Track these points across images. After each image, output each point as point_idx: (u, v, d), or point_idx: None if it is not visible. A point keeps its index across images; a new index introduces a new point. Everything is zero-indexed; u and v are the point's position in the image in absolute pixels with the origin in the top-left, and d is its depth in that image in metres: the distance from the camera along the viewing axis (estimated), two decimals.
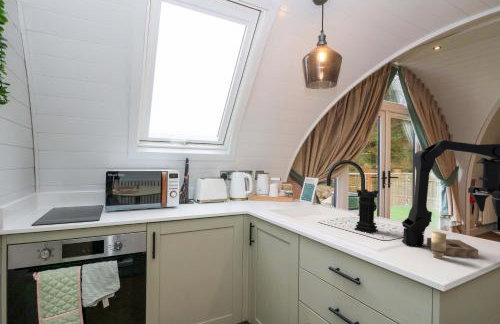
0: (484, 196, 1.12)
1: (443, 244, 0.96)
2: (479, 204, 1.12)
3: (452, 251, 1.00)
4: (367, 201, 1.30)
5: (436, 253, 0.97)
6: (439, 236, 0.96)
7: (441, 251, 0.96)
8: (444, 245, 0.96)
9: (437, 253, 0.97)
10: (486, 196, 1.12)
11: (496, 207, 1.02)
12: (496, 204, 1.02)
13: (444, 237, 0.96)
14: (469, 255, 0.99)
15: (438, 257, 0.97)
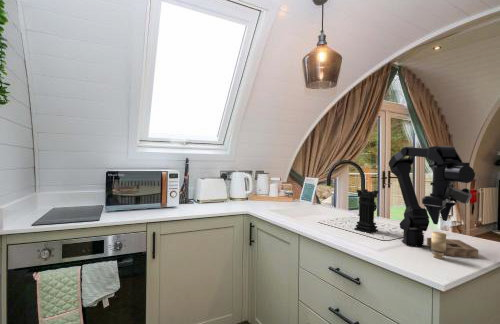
0: (449, 204, 1.00)
1: (443, 244, 0.96)
2: (441, 212, 1.02)
3: (452, 251, 1.00)
4: (367, 201, 1.30)
5: (436, 253, 0.97)
6: (439, 236, 0.96)
7: (441, 251, 0.96)
8: (444, 245, 0.96)
9: (437, 253, 0.97)
10: (451, 204, 1.00)
11: (429, 213, 0.96)
12: (428, 210, 0.96)
13: (444, 237, 0.96)
14: (469, 255, 0.99)
15: (438, 257, 0.97)
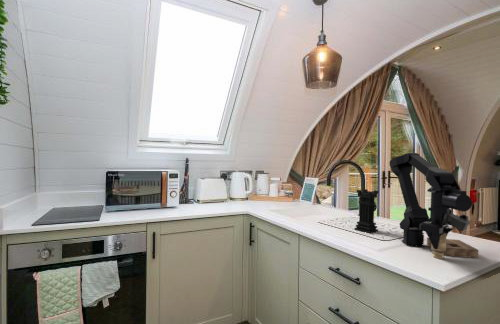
0: (445, 230, 0.99)
1: (443, 244, 0.96)
2: None
3: (452, 251, 1.00)
4: (367, 201, 1.30)
5: (436, 253, 0.97)
6: None
7: (441, 251, 0.96)
8: (444, 245, 0.96)
9: (437, 253, 0.97)
10: (447, 230, 0.98)
11: (429, 238, 0.97)
12: (428, 235, 0.97)
13: (444, 237, 0.96)
14: (469, 255, 0.99)
15: (438, 257, 0.97)
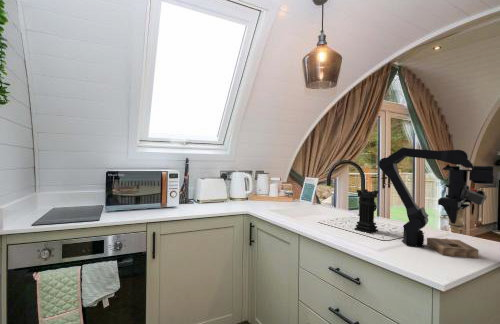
0: (462, 206, 1.04)
1: (460, 219, 1.01)
2: None
3: (452, 251, 1.00)
4: (367, 201, 1.30)
5: (454, 227, 1.02)
6: None
7: (459, 225, 1.01)
8: (462, 219, 1.01)
9: (455, 227, 1.02)
10: (464, 206, 1.03)
11: (447, 213, 1.02)
12: (446, 210, 1.02)
13: (462, 212, 1.01)
14: (469, 255, 0.99)
15: (456, 231, 1.02)
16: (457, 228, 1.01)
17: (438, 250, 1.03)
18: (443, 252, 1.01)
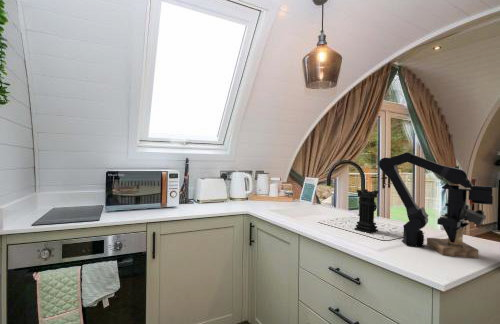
0: (461, 224, 1.04)
1: (460, 238, 1.01)
2: None
3: (452, 251, 1.00)
4: (367, 201, 1.30)
5: (453, 246, 1.02)
6: None
7: (458, 244, 1.01)
8: (461, 239, 1.01)
9: (454, 246, 1.02)
10: (463, 225, 1.03)
11: (446, 232, 1.02)
12: (445, 229, 1.02)
13: (461, 231, 1.01)
14: (469, 255, 0.99)
15: None
16: None
17: (438, 250, 1.03)
18: (443, 252, 1.01)
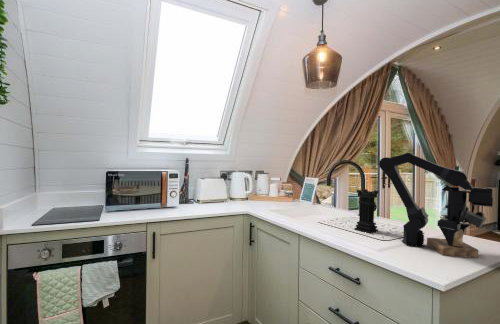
0: (463, 225, 1.05)
1: (459, 239, 1.01)
2: None
3: (452, 251, 1.00)
4: (367, 201, 1.30)
5: None
6: (456, 232, 1.01)
7: (458, 246, 1.01)
8: (461, 240, 1.01)
9: None
10: (465, 226, 1.05)
11: (444, 235, 1.01)
12: (443, 232, 1.01)
13: (461, 232, 1.01)
14: (469, 255, 0.99)
15: None
16: None
17: (438, 250, 1.03)
18: (443, 252, 1.01)
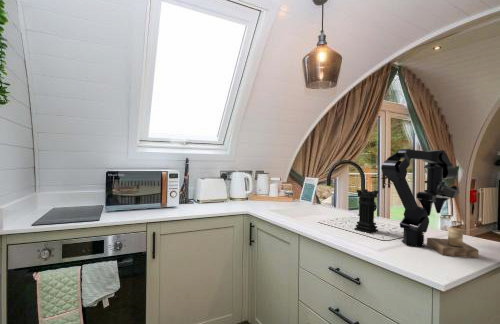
0: (441, 199, 1.18)
1: (459, 239, 1.01)
2: (436, 206, 1.20)
3: (452, 251, 1.00)
4: (367, 201, 1.30)
5: None
6: (456, 232, 1.01)
7: (458, 246, 1.01)
8: (461, 240, 1.01)
9: None
10: (443, 199, 1.18)
11: (423, 206, 1.15)
12: (421, 203, 1.15)
13: (461, 232, 1.01)
14: (469, 255, 0.99)
15: None
16: None
17: (438, 250, 1.03)
18: (443, 252, 1.01)
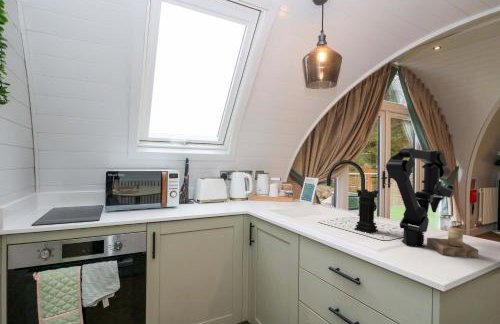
0: (437, 198, 1.20)
1: (459, 239, 1.01)
2: (432, 205, 1.22)
3: (452, 251, 1.00)
4: (367, 201, 1.30)
5: None
6: (456, 232, 1.01)
7: (458, 246, 1.01)
8: (461, 240, 1.01)
9: None
10: (439, 198, 1.20)
11: (420, 206, 1.16)
12: (419, 203, 1.16)
13: (461, 232, 1.01)
14: (469, 255, 0.99)
15: None
16: None
17: (438, 250, 1.03)
18: (443, 252, 1.01)
